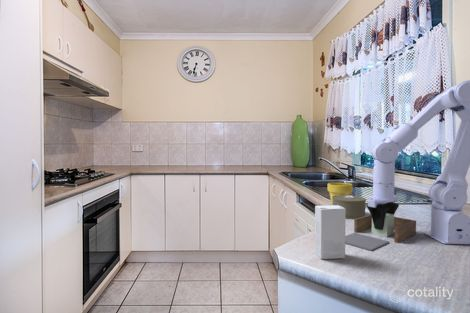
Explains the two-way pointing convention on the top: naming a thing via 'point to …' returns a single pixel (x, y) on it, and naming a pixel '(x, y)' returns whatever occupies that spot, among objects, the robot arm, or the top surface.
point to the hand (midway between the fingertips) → (382, 227)
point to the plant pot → (339, 189)
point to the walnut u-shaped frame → (401, 226)
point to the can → (351, 205)
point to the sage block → (385, 226)
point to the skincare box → (330, 231)
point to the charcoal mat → (364, 241)
